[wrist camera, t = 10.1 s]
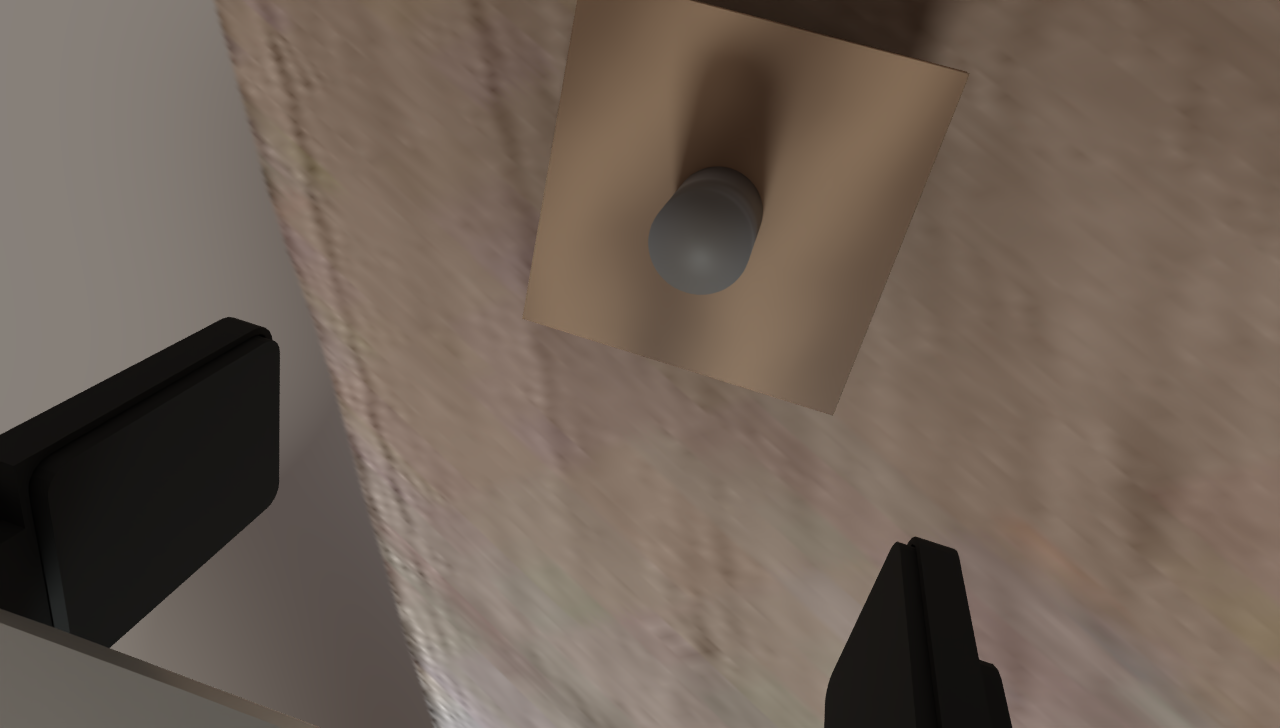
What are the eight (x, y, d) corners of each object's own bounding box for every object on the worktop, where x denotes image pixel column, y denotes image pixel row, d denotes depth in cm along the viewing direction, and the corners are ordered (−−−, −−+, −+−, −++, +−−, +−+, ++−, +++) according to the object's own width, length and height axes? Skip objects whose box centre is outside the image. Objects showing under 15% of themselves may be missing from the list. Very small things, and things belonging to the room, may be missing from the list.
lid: (966, 71, 24) (992, 89, 20) (833, 405, 29) (831, 475, 25) (589, -28, 25) (538, -31, 21) (529, 311, 31) (479, 362, 26)
